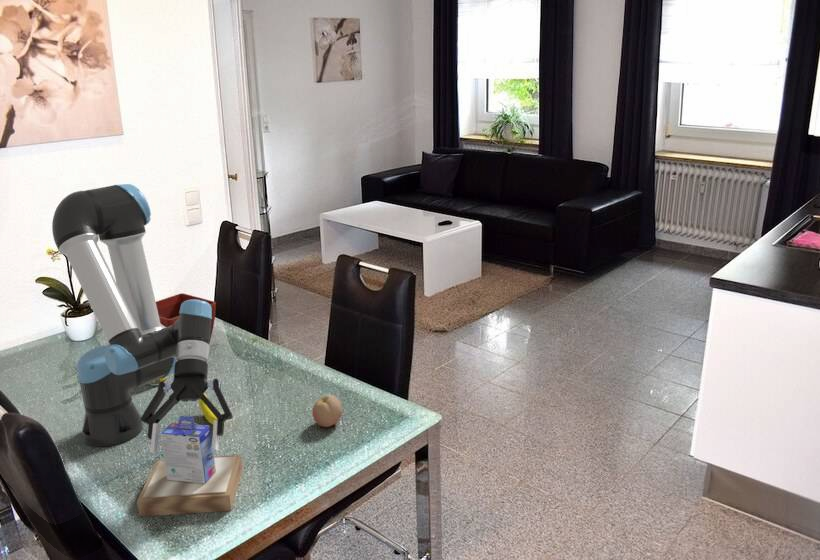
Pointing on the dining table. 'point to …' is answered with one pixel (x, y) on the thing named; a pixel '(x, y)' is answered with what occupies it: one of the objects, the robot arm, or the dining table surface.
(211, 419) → the banana
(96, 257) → the robot arm
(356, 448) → the dining table surface
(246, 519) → the dining table surface
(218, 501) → the wooden box
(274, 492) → the dining table surface
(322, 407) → the fruit
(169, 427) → the ink cartridge box
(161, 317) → the plant pot
